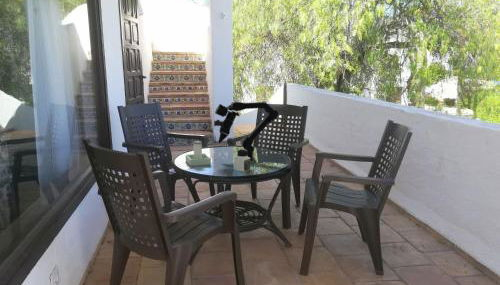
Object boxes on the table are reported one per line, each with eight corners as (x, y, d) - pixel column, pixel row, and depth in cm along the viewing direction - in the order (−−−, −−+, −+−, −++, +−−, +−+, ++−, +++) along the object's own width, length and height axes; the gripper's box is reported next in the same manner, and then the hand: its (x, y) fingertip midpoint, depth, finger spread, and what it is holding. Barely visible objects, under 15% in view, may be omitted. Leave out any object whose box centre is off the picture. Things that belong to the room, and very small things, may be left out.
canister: (203, 162, 246) (203, 141, 243) (197, 163, 242) (197, 143, 239) (198, 160, 249) (198, 140, 246) (192, 162, 245) (191, 141, 243)
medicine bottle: (244, 172, 227) (244, 151, 225) (234, 170, 231) (234, 150, 228) (250, 169, 233) (250, 149, 231) (240, 167, 237) (240, 148, 234)
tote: (185, 161, 250) (185, 154, 249) (204, 160, 254) (204, 153, 254) (190, 167, 237) (190, 159, 236) (210, 165, 241) (210, 158, 240)
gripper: (217, 114, 258) (208, 135, 259) (217, 115, 239) (207, 138, 240) (233, 121, 259) (223, 142, 260) (234, 122, 240) (223, 145, 241)
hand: (219, 142), depth 250 cm, fingers open, 9 cm apart
